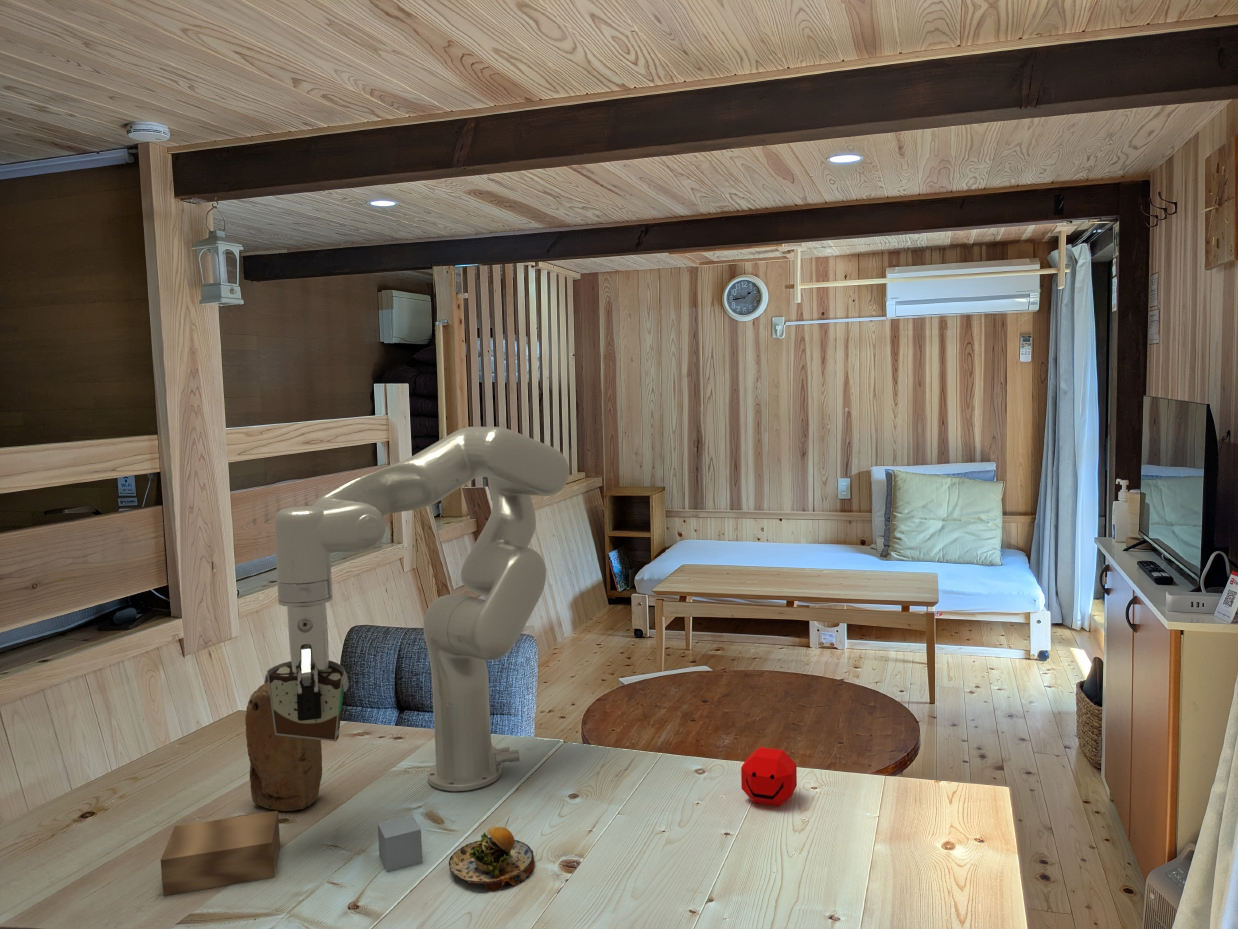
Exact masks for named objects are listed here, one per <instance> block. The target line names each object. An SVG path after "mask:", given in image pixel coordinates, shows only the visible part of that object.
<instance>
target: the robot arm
mask: <svg viewBox="0 0 1238 929" xmlns="http://www.w3.org/2000/svg"><path fill="white" fill-rule="evenodd" d="M479 477H480V478H481V477H484V478H487V481H488V485H489V488H490V491H491V498H492V500H491V501H492V507H491V508H492V509H491V513H490V514H489V515H490V516H489V518H488V520H487V522H486V523H485V526H484V528H483V529H482V530H481V533H480V534H479V536H478V537H477V539H476V541H475V543H474V545H473V546H472V548H471V550H470V551H469V553H468V555H467V557H466V558H465V560H464V562H463V564H462V568H461V571H460V579H461V580H460V581H461V582H462V584H463V585H464V587H465V588H466V589H467V590H468V591H470V592H472V593H474V594H476V595H480V596H483V597H486V599H483V598H478V597H473V596H469V595H463V594H454V593H453V594H445V595H442V596H439V597H437V598H436V599H434V600H433V601H432V602H431V603H430V605H429V606H428V608H426V610H425V614H424V616H423V622H422V624H423V626H422V627H423V635H424V639H425V643H426V644H425V645H426V648H427V649H426V650H427V652H428V656H429V664H430V672H431V681H432V682H431V684H432V688H431V689H432V706H433V707H432V708H433V711H432V712H433V725H434V726H433V727H434V729H433V730H434V745H435V746H434V747H435V764H433V765H432V767H430V768H429V770H428V772H427V782H428V783H429V784H430V785H431V786H432V787H433V788H435V789H438V790H441V791H447V792H465V791H466V792H467V791H472V790H477V789H480V788H484V787H487V786H489V785H491V784H493V783H494V782H496V781H497V780H498V779H499V778H500V777H501V775H502V771H503V770H502V769H503V767H502V764H503V763H513V762H514V763H515V762H519V761H520V760H521V758H520V751H519V749H513V750H511V749H510V748H511V747H510V746H506V747H500V748H497V747H494V745H493V743H492V733H491V732H492V731H491V726H492V725H491V710H490V709H491V708H490V706H491V705H490V689H489V687H490V683H489V682H490V680H489V672H488V671H489V670H488V665H487V662H486V661H497V660H500V659H502V658H503V657H505V656H506V655H507V654H509V652H510V651H511V650H512V649H513V648H514V646H515V644H517V641H518V639H519V638H520V637H521V634H522V632H523V630H524V629H525V627H526V624H527V623H528V621H529V619H530V617H531V615H532V613H533V611H534V609H535V608H536V606H537V604H538V602H539V600H540V599H541V596H542V595H543V591H544V589H545V586H546V580H547V569H546V563H545V561H544V559H543V557H542V555H541V554H540V553H539V552H538V551H536V550H534V549H533V548H531V547H529V545H530V543H531V541H532V539H533V537H534V534H535V531H536V527H537V519H536V512H535V508H534V504H533V499H532V496H540V497H549V496H555V495H556V494H558V493H560V492H561V491H562V490H563V489H564V488H565V486H566V485H567V483H568V480H569V478H570V467H569V464H568V460H567V459H566V458H565V456H564V455H563V453H562V452H561V451H559V450H558V449H557V448H555V447H553V446H550V445H548V444H545V443H543V442H542V441H538V440H536V439H533V438H531V437H529V436H526V435H524V434H521V433H519V432H517V431H516V430H515V431H514V430H512V429H509V428H506V427H502V426H467V427H463V428H459V429H458V430H455V431H454V432H452V433H450V434H448V435H447V436H445V437H442V439H440V440H438V441H436V442H435V443H432V444H430V446H428V447H425V448H424V449H422V450H420V451H419V452H417V453H416V454H414V455H412V456H410V457H408V458H406V459H404V460H402V461H400V462H399V461H398V462H396V463H395V464H391V465H389V466H386V467H384V468H381V469H379V470H376V471H374V472H371V473H368V474H365V475H362V476H360V477H358V478H355V479H353V480H351V481H348V482H347V483H345V484H343V485H340V486H338V487H337V488H335V489H333V490H332V491H330V492H328V493H327V494H325V495H323V496H321V497H320V498H318V499H317V500H316V501H314V503H313V504H312V505H310V506H308V505H307V506H294V507H286V508H283V509H281V510H279V511H278V512H276V515H275V516H274V517H275V518H274V536H275V539H274V540H275V558H276V578H277V580H276V582H277V599H278V600H277V601H278V605H280V606H282V607H286V608H287V624H288V626H287V628H288V641H289V652H290V661H291V663H292V671H293V673H295V674H297V675H298V693H297V712H298V720H299V721H304V720H313V719H320V718H321V694H320V690H319V691H318V670H323V672H325V671H326V670H327V669H328V664H329V661H330V653H329V636H328V635H329V634H328V633H329V631H328V630H329V629H328V615H327V614H328V613H327V604H326V603H329V602H330V601H333V599H334V598H333V580H332V559H331V558H332V556H331V555H332V554H333V553H361V552H366V551H370V550H371V549H373V548H375V547H376V546H377V545H379V543H381V541H382V539H383V538H384V536H385V534H386V530H387V522H386V518H385V517H384V516H388V515H390V514H396V513H400V512H410V511H414V510H420V509H424V508H428V507H431V506H433V505H435V504H436V503H438V502H440V501H441V500H443V499H445V498H446V497H447V496H449V495H450V494H452V493H454V491H455V492H456V491H457V490H459V489H460V488H461V487H463V486H464V485H465V486H466V484H468V483H469V482H471V481H473V480H474V479H476V478H479ZM311 667H315V670H311ZM301 668H302V671H301ZM297 672H298V673H297ZM311 675H314V678H313V677H311Z"/></svg>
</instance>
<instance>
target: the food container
mask: <svg viewBox="0 0 1238 929" xmlns="http://www.w3.org/2000/svg"><path fill="white" fill-rule="evenodd" d="M311 670H315V667H311ZM301 671H302V668H301ZM297 673H298V672H297ZM311 677H313V678H314V675H311ZM267 682H268V685H269V692H270V700H271V708H272V715H273V723H274V731H275V735H280V736H289V737H299V738H308V739H317V740H321V741H329V742H337V741H338V740H339V737H340V728H341V727H340V726H341V718H342V711H343V710H342V707H343V699H344V692H345V693H346V692H347V690H348V688H349V686H350V685H349V684H350V682H349V678H348V674H347V672H346V671H345V667H344V666H343V665H341V664H339V663H338V662H335V661H332V660H329V664H328V669H327V670H326V671H325V672H323V670H318V691H319V690H320V694H321V718H320V719H313V720H304V721H299V720H298V712H297V693H298V675H297V674H295V673H293V671H292V663H291V660H289V661H285V662H282V663H278V664H277V665H274V666H272V667H270V668H269V669H267V670H266V674H265V676H264V681H263V684H265V683H267Z"/></svg>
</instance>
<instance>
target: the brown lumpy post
mask: <svg viewBox="0 0 1238 929" xmlns="http://www.w3.org/2000/svg"><path fill="white" fill-rule="evenodd" d="M244 718H245V719H244V720H245V721H244V722H245V738H246V748H247V749H246V750H247V754H248V760H249V764H250V765H249V782H250V787H249V788H250V794H251V799H252V803H254V804H255V805H258V806H259V807H263V808H265V809H270V810H273V811H281V812H282V811H283V812H291V811H292V812H293V811H298V810H303V809H306V808H308V807H309V806H311V805H312V804H313V803H314V802H315V801H316V800H317V797H318V796H319V792H320V787H321V782H322V778H323V777H322V776H323V754H322V740H317V739H308V738H299V737H289V736H280V735H275V731H274V723H273V715H272V708H271V700H270V692H269V685H268V682H267V683H263V684H262V685H260V686H259V687H258V688H257V689H256V690H255V691H253V693H252V694H251V695H250V697H249V700H248V702H247V706H246V713H245V716H244Z"/></svg>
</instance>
